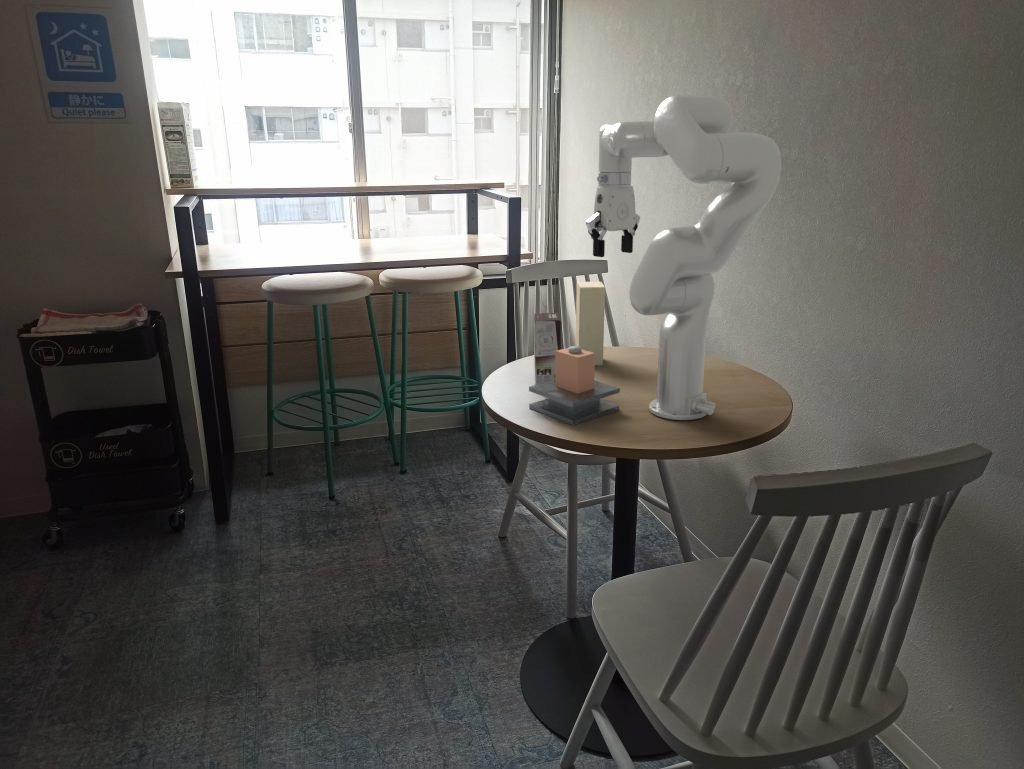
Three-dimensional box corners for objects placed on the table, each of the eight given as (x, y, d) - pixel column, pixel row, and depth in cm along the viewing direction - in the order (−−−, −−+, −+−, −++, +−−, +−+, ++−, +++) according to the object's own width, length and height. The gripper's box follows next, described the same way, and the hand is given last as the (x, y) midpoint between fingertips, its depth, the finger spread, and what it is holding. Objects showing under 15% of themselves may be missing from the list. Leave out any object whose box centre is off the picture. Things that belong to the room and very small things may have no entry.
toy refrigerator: (606, 365, 191) (607, 286, 184) (578, 366, 191) (579, 287, 184) (602, 357, 198) (603, 281, 192) (575, 357, 198) (575, 281, 192)
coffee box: (561, 385, 176) (561, 320, 171) (534, 385, 176) (534, 320, 171) (559, 373, 184) (559, 311, 179) (534, 374, 185) (533, 312, 180)
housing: (594, 388, 157) (594, 348, 154) (577, 393, 154) (578, 352, 151) (571, 381, 162) (572, 342, 159) (555, 386, 159) (555, 346, 156)
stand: (619, 409, 158) (619, 388, 157) (572, 425, 150) (573, 402, 149) (575, 394, 169) (575, 374, 167) (529, 408, 160) (529, 386, 159)
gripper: (600, 182, 160) (598, 260, 165) (651, 179, 170) (648, 252, 176) (576, 181, 166) (575, 256, 171) (628, 178, 176) (625, 249, 181)
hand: (612, 254), depth 173 cm, fingers open, 9 cm apart
